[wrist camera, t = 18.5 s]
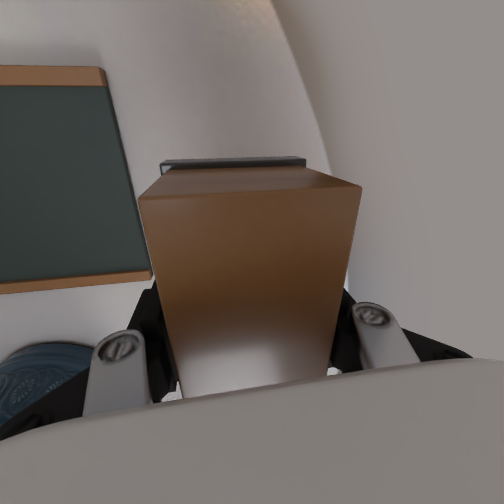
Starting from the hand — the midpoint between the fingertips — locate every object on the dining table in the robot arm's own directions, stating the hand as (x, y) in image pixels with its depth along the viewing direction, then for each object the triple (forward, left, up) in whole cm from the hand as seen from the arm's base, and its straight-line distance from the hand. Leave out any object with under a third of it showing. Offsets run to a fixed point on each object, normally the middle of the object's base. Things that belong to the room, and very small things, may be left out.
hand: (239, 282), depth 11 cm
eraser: (0, 0, 0) cm, 0 cm away
